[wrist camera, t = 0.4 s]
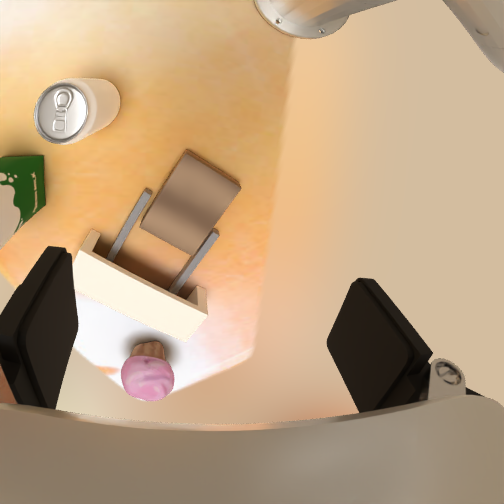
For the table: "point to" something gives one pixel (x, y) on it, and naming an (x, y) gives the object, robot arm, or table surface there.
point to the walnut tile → (189, 203)
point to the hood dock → (142, 285)
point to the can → (75, 109)
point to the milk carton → (19, 192)
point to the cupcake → (147, 372)
